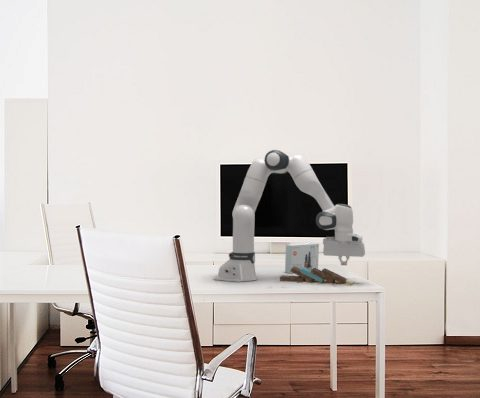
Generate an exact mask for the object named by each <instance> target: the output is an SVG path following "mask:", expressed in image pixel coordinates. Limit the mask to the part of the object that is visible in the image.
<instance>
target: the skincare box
mask: <svg viewBox="0 0 480 398" xmlns="http://www.w3.org/2000/svg"><path fill="white" fill-rule="evenodd" d="M319 245H320V244H319V243H317V242H306V243H305V242H303V243H289V244H285V267H284V269H285V270H284V272H285V273H286V274H293V273H292V272H290V271H291V269H292V268H293V267H297V268H299V269H302V268H303V267H306V268H308V269H310V270H312V269H313V268H317V269H319V254H320V253H319V252H320V250H319V249H320V248H319V247H320V246H319Z"/></svg>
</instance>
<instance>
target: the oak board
mask: <svg viewBox="0 0 480 398" xmlns="http://www.w3.org/2000/svg"><path fill="white" fill-rule="evenodd" d="M296 283H297V284H311V285H313V284H314V285H316V284H317V285H333V286H352V285H354V283H355V281H348V280H346V282H345V283H344V284H342V283H340V282H338V281H336V280H335V282H334V283H330V282H328V281H326V280H324V282H322V283H321V282H319V281H317V280H314V281H313V282H310V281H308V280H306V281H304V282H296Z"/></svg>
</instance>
